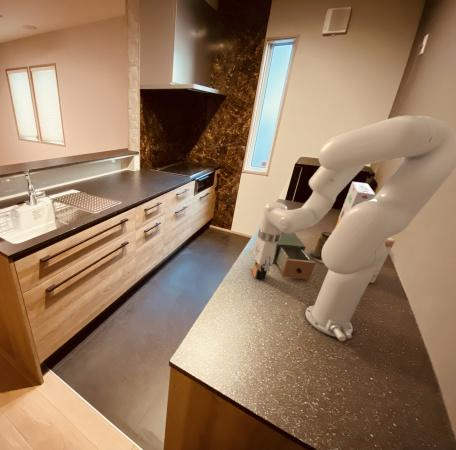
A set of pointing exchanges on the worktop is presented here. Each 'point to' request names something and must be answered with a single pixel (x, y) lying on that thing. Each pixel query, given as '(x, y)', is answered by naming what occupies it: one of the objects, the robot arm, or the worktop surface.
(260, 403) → the worktop surface
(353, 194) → the cereal box
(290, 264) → the wooden drawer box
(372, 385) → the worktop surface
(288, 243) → the green drawer chest
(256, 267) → the orange cube
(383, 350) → the worktop surface
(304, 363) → the worktop surface
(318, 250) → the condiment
